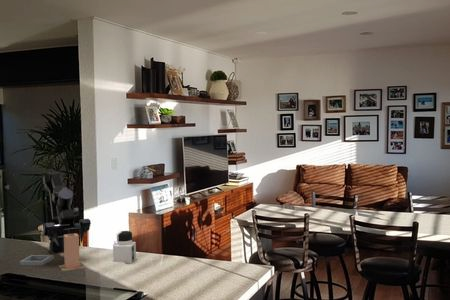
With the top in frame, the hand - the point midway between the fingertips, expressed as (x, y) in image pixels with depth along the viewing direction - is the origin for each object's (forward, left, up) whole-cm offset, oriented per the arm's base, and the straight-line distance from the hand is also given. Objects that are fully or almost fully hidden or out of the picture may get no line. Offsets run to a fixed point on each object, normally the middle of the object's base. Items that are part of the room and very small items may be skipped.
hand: (70, 243), depth 187 cm
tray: (+6, -17, -10) cm, 21 cm away
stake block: (+1, +2, -10) cm, 10 cm away
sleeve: (+1, +2, -9) cm, 9 cm away
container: (-19, +11, -10) cm, 24 cm away
